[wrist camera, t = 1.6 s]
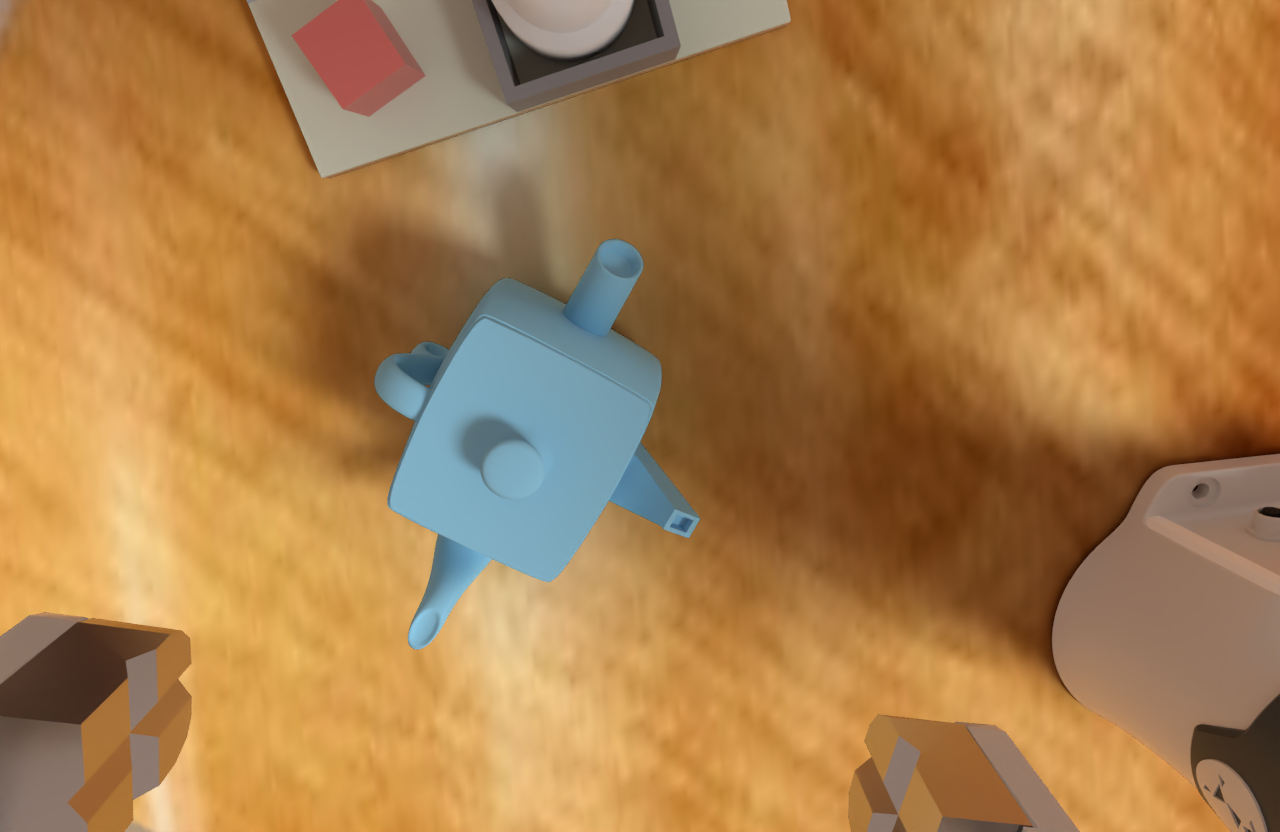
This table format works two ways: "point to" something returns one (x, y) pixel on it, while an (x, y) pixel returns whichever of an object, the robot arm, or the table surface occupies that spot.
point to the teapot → (527, 432)
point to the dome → (566, 25)
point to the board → (483, 68)
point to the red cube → (358, 55)
